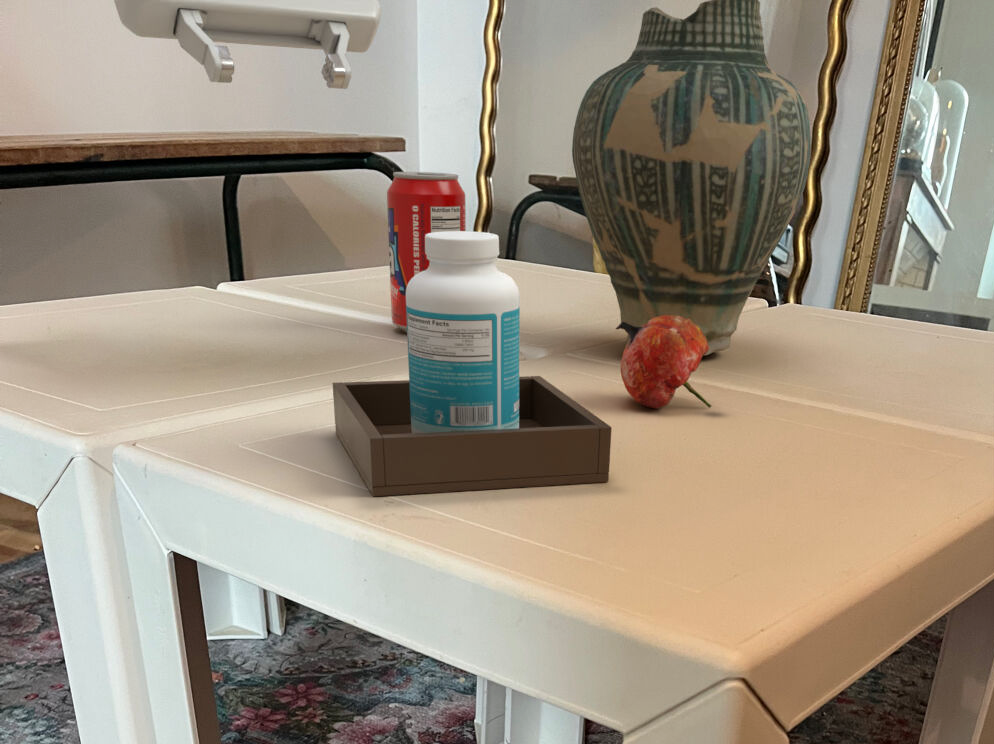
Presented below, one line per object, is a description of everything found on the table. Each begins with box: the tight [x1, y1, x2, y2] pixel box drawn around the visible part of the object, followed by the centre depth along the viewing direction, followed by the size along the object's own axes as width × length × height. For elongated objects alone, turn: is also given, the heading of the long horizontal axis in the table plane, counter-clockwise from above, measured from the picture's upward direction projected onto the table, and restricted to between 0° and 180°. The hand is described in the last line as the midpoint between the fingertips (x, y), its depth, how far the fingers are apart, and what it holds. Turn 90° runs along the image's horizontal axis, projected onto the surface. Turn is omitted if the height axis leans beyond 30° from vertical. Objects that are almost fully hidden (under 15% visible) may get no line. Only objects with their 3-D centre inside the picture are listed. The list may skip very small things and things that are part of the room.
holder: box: [332, 375, 613, 497], centre depth 77 cm, size 16×16×4 cm
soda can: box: [386, 171, 467, 333], centre depth 116 cm, size 8×8×15 cm
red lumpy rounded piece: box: [615, 315, 712, 409], centre depth 92 cm, size 7×7×10 cm
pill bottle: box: [406, 230, 521, 433], centre depth 74 cm, size 8×7×14 cm
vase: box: [571, 0, 812, 357], centre depth 106 cm, size 22×22×30 cm
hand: (283, 79), depth 85 cm, fingers open, 8 cm apart
